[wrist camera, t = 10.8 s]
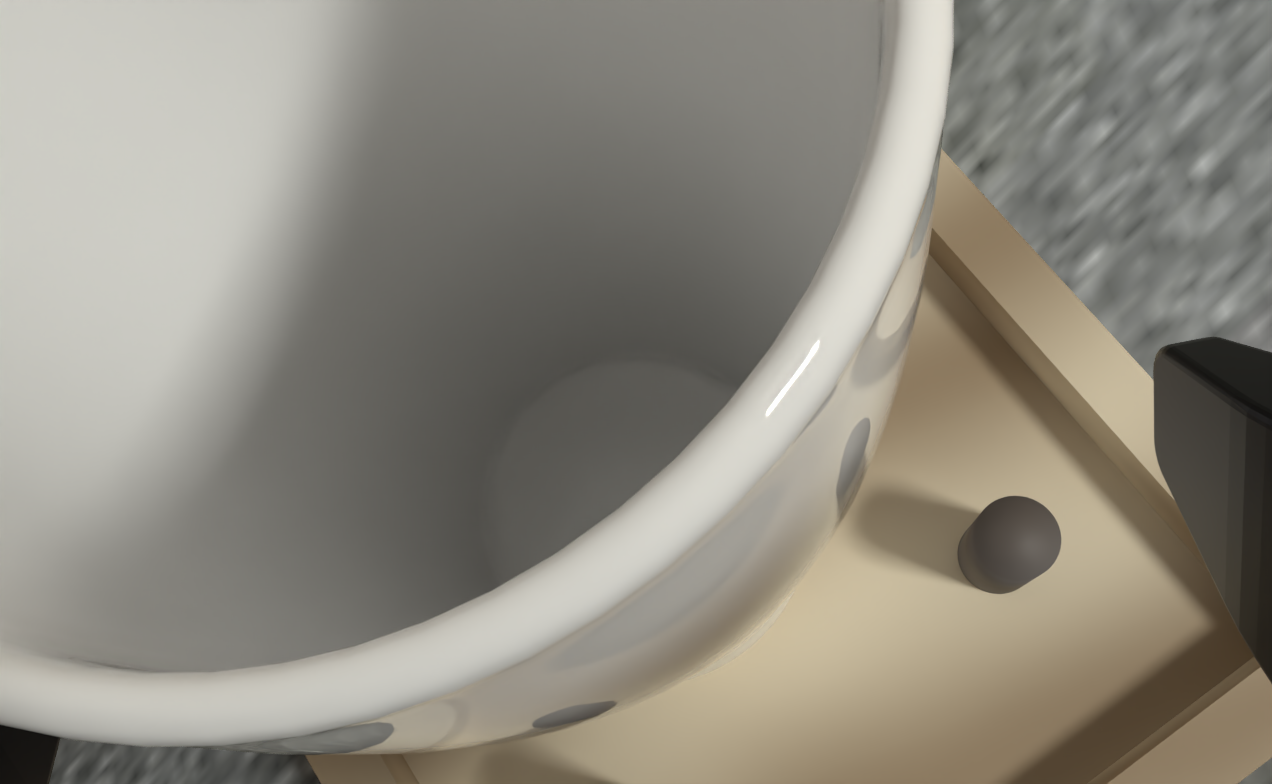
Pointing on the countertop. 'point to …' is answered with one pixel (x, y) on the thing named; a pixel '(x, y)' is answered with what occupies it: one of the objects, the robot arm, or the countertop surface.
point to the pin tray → (959, 586)
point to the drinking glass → (437, 350)
